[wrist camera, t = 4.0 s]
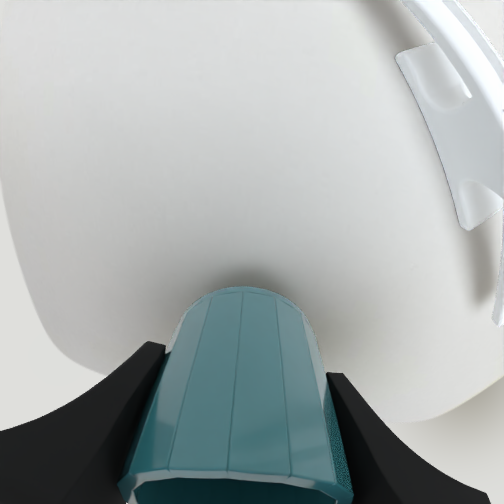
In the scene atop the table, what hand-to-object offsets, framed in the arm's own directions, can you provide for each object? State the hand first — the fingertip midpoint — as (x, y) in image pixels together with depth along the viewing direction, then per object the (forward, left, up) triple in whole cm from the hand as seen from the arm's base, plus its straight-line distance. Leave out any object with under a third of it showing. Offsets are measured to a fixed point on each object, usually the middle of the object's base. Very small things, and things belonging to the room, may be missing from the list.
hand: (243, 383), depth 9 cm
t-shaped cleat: (+12, +7, -5) cm, 15 cm away
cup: (0, 0, -2) cm, 2 cm away
